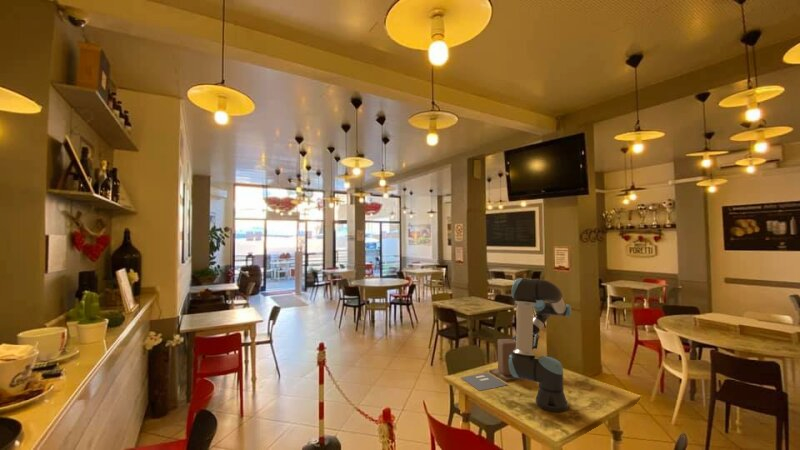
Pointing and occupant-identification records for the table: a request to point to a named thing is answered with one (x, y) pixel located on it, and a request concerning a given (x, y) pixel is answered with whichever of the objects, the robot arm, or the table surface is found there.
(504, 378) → the walnut board
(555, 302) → the robot arm
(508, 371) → the wooden block
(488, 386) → the gray tile
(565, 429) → the table surface
